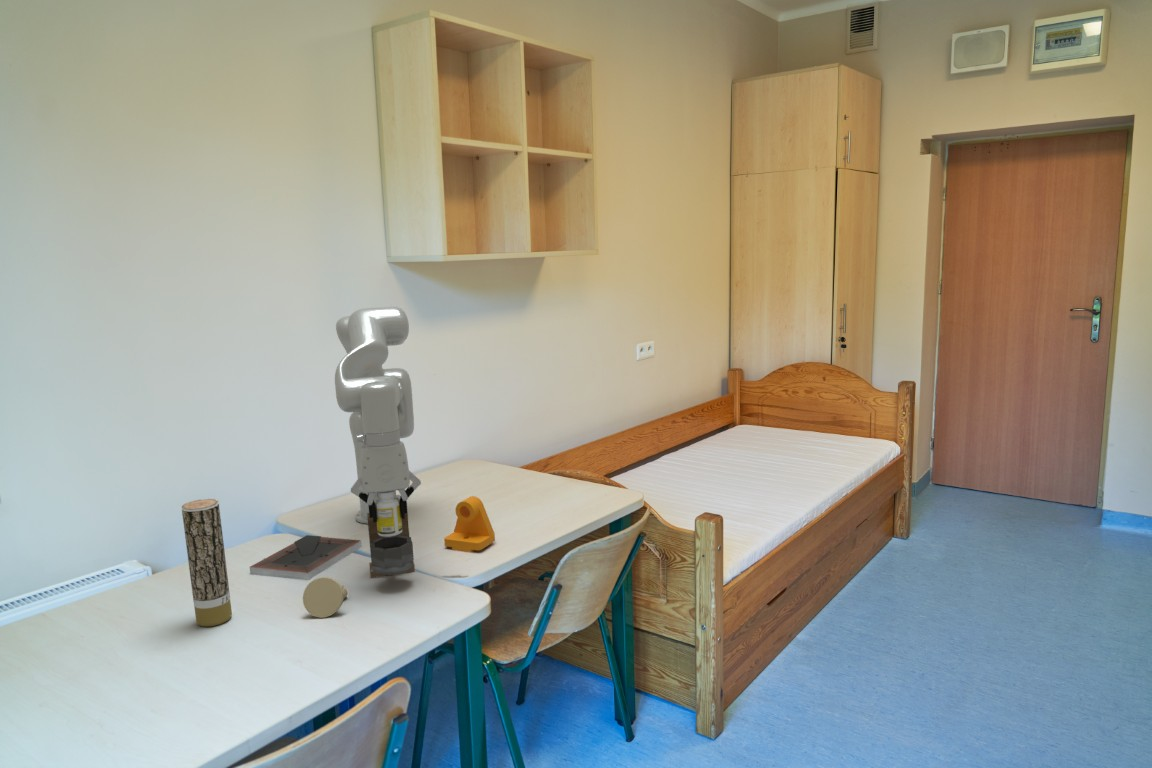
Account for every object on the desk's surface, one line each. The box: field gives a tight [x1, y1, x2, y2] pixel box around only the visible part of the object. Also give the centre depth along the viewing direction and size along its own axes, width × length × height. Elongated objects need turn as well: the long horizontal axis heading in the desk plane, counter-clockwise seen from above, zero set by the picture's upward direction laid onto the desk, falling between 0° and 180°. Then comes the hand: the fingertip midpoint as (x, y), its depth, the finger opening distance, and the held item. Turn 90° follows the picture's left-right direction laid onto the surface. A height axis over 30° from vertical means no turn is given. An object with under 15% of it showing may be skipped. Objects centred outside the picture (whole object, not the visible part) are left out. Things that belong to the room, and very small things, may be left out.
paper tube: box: [181, 498, 233, 627], centre depth 163 cm, size 7×7×25 cm
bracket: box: [443, 495, 496, 553], centre depth 201 cm, size 11×7×12 cm, turn 66°
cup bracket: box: [367, 513, 416, 578], centre depth 182 cm, size 17×10×14 cm, turn 16°
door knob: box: [302, 576, 348, 619], centre depth 169 cm, size 10×8×8 cm
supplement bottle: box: [375, 490, 402, 537], centre depth 176 cm, size 5×5×10 cm
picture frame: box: [249, 534, 363, 581], centre depth 197 cm, size 16×2×22 cm
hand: (388, 517), depth 176 cm, fingers closed on supplement bottle, 5 cm apart
